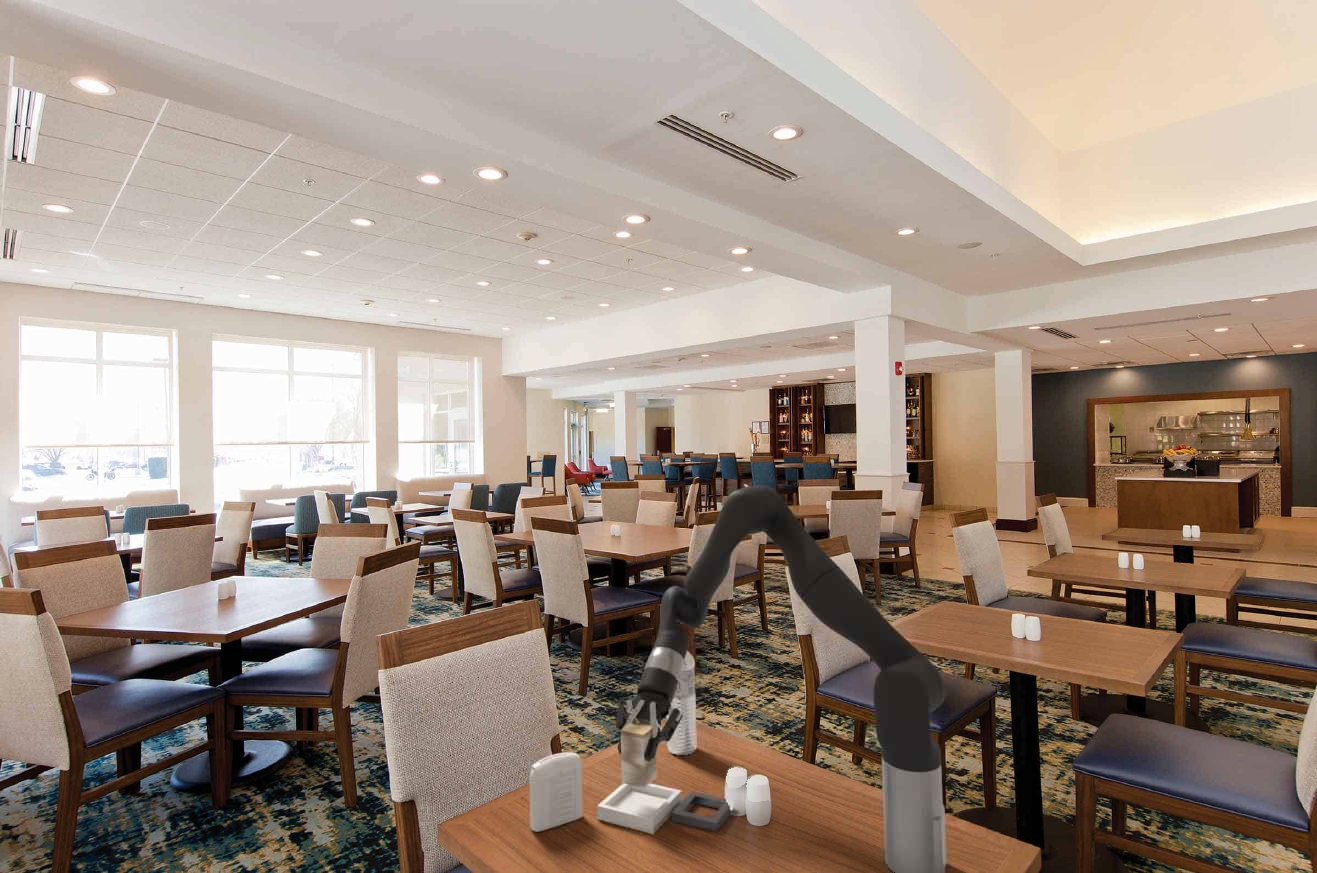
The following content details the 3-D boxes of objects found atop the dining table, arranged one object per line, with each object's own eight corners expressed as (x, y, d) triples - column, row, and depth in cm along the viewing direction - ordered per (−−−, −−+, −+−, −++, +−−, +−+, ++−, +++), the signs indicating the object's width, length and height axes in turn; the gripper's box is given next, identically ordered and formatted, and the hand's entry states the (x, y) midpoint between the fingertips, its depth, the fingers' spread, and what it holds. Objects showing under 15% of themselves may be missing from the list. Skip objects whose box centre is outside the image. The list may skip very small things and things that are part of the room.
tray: (681, 803, 133) (681, 790, 133) (653, 834, 123) (652, 820, 123) (629, 791, 139) (628, 778, 139) (597, 819, 128) (597, 805, 128)
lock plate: (734, 808, 131) (733, 800, 131) (716, 832, 123) (715, 823, 123) (691, 798, 135) (691, 791, 135) (671, 820, 127) (671, 812, 127)
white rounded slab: (576, 808, 132) (574, 744, 133) (586, 818, 129) (585, 752, 129) (526, 825, 127) (525, 758, 127) (535, 836, 123) (534, 767, 124)
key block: (656, 777, 132) (655, 725, 132) (644, 788, 128) (643, 734, 128) (634, 772, 134) (633, 721, 135) (621, 782, 130) (620, 730, 130)
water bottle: (662, 747, 159) (660, 640, 160) (688, 742, 162) (685, 636, 163) (675, 759, 153) (672, 647, 154) (702, 753, 156) (699, 643, 157)
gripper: (625, 661, 142) (594, 741, 131) (687, 670, 135) (660, 755, 124) (638, 679, 146) (609, 758, 135) (698, 688, 140) (674, 772, 129)
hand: (634, 756), depth 130 cm, fingers closed on key block, 5 cm apart
